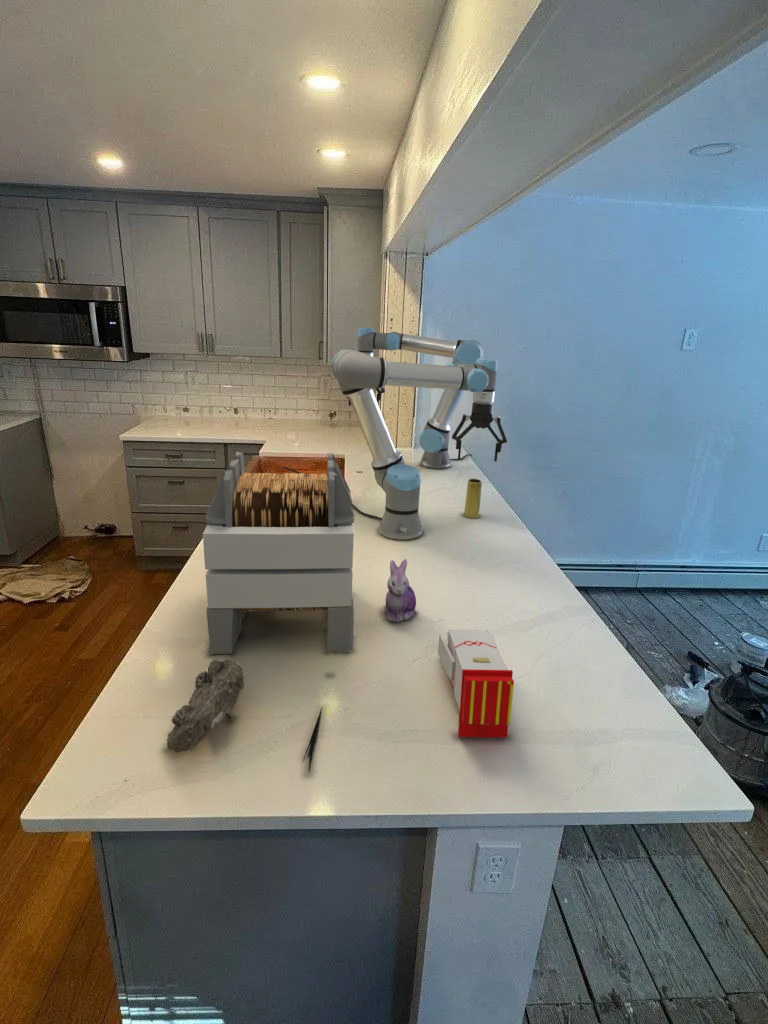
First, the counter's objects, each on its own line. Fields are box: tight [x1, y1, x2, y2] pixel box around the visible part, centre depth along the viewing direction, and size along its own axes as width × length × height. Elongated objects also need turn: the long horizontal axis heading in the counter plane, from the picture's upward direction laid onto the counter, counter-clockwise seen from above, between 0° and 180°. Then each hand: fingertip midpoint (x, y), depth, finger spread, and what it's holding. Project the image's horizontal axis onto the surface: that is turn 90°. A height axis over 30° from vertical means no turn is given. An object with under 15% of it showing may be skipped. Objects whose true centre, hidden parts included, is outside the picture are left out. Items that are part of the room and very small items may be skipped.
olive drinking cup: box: [463, 478, 483, 519], centre depth 219 cm, size 6×6×14 cm
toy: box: [437, 628, 515, 738], centre depth 117 cm, size 12×13×30 cm
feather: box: [301, 673, 332, 771], centre depth 108 cm, size 2×28×2 cm
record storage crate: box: [202, 451, 355, 655], centre depth 137 cm, size 34×33×41 cm
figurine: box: [384, 558, 417, 623], centre depth 145 cm, size 9×10×15 cm
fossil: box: [166, 658, 245, 754], centre depth 106 cm, size 22×10×15 cm
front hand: (477, 459), depth 213 cm, fingers open, 13 cm apart
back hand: (363, 406), depth 276 cm, fingers open, 13 cm apart
